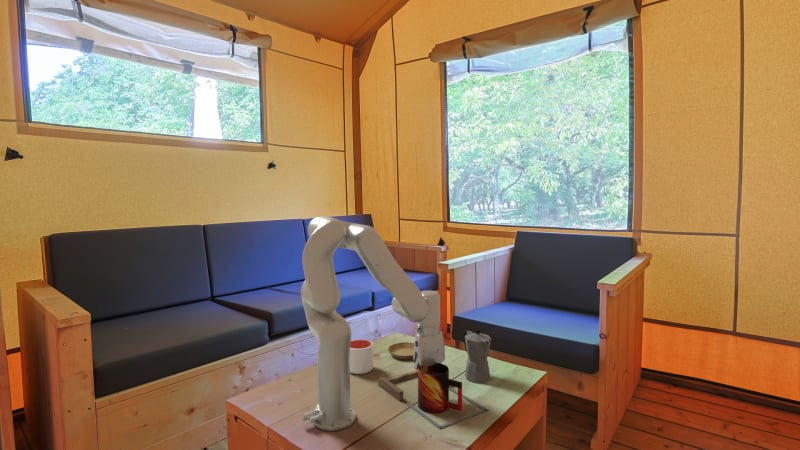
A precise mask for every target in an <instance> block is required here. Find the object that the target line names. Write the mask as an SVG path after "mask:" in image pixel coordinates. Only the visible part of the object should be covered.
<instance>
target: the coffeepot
mask: <svg viewBox="0 0 800 450" xmlns="http://www.w3.org/2000/svg"><path fill="white" fill-rule="evenodd" d="M462 338H463V342H464V347H465V351H466V354H467V356H468V358H467V360H466V365H465V371H464V376H465V380H467V381H469V382H471V383H476V384H483V383H487V382H489V381H490V380H491V373H490V367H489V361H488V357H489V354H490V348H491V341H492V337H490V335H489V334H485V333H481V329H480V328H475V332H473V331H470V330H468V329H465V330H464V331H463V333H462Z"/></svg>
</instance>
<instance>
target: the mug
mask: <svg viewBox="0 0 800 450" xmlns="http://www.w3.org/2000/svg"><path fill="white" fill-rule="evenodd" d="M450 387H453V388H457V392H458V395H457V403H454V402H452V401H449V400H450V392H449V391H450V390H449V389H450ZM417 391H418V392H417V407H418V408H419V409H418V410H420V411H421V412H423V413H425V414H427V413H428V414H442V413H445V412H446V411H448V410H449V409H451V410H455V411H458V412H459V413H460V412H462V411H463V398H462V394H463V382H461V381H459V380H455V379H451V378H450V368H449V367H448V365H445V364H444V363H435V364H434V365H432V366H428V367H421V366H419V367H418V376H417Z"/></svg>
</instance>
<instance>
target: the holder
mask: <svg viewBox="0 0 800 450" xmlns="http://www.w3.org/2000/svg"><path fill="white" fill-rule="evenodd" d="M416 377H418V370H416V369H415V370H413V371H409V372H405V373H402V374H399V375H396V376H392V377H388V378H385V377H384V376H381V377H380V376H379V377H378V381H377V386H378V387H379V388H381V389H382V390H384V391H385V392H386V393H388V395H390V396H392V397H393V398H394V399H396V400H397V401H398V402H402V401H404V390H402V389H401V388H399V386H397V385H396V384H395V383H398V382H399V383H400V382H402V381H405V380H409V379H413V378H416Z"/></svg>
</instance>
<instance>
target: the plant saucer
mask: <svg viewBox="0 0 800 450" xmlns="http://www.w3.org/2000/svg"><path fill="white" fill-rule="evenodd" d="M387 351H388V353H389V354H390V355H391V356H392V357H394V358H395V359H399V360H412V359H413V360H414V358H413V353H414V342H398V343H397V342H396V343H394V344H391V345H389V346H388V347H387Z"/></svg>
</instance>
